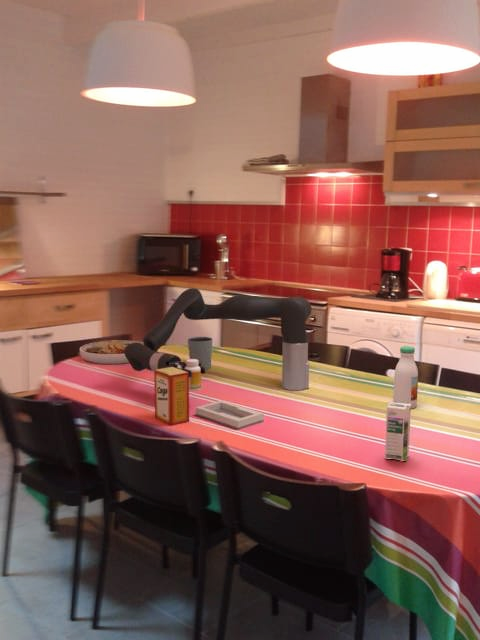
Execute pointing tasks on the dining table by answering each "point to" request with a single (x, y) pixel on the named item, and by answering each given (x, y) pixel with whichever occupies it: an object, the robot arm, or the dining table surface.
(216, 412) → the gray rectangular tray
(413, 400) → the milk bottle
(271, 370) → the dining table surface
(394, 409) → the syrup box
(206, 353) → the blue-grey cup
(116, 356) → the bowl
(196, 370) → the supplement bottle
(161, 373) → the baking soda box
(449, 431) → the dining table surface
